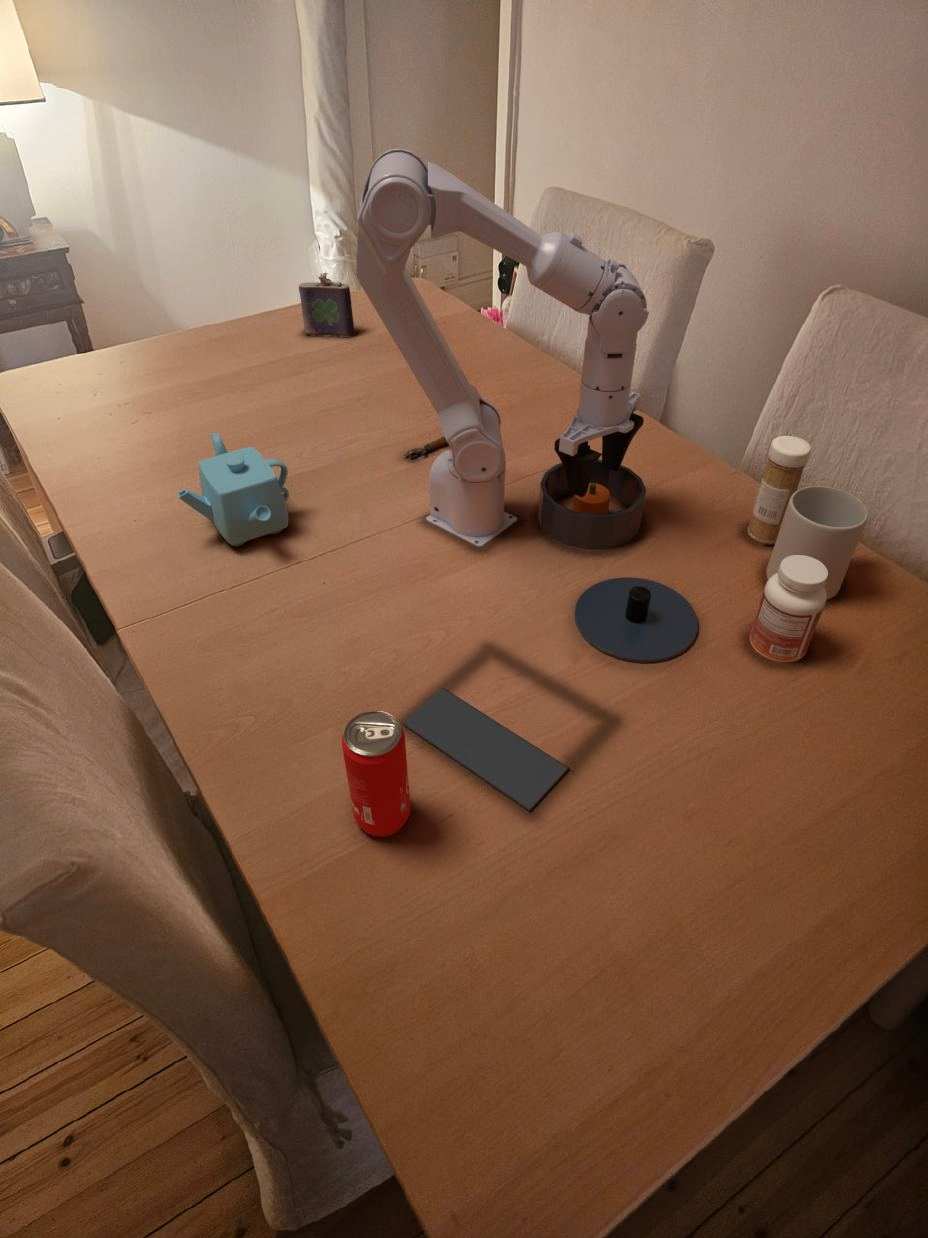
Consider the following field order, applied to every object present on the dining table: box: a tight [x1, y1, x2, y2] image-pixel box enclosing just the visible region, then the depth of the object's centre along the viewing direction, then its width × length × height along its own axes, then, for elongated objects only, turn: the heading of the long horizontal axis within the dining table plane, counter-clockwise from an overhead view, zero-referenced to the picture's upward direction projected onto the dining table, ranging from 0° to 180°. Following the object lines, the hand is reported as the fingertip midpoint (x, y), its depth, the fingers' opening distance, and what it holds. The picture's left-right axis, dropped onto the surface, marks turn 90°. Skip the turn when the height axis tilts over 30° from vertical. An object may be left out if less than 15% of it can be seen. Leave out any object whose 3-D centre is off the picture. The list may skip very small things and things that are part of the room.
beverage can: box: [341, 710, 411, 838], centre depth 71 cm, size 5×5×12 cm
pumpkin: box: [571, 483, 611, 515], centre depth 106 cm, size 5×5×5 cm
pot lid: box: [574, 576, 699, 664], centre depth 92 cm, size 14×14×5 cm
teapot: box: [175, 432, 290, 547], centre depth 104 cm, size 18×14×10 cm
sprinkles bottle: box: [746, 435, 812, 546], centre depth 101 cm, size 5×5×13 cm
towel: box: [402, 687, 570, 812], centre depth 83 cm, size 16×14×1 cm
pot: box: [537, 458, 647, 551], centre depth 106 cm, size 13×13×6 cm
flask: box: [298, 272, 355, 338], centre depth 147 cm, size 9×3×11 cm, turn 84°
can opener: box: [403, 435, 448, 459], centre depth 121 cm, size 9×2×1 cm, turn 123°
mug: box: [765, 485, 869, 601], centre depth 96 cm, size 12×8×11 cm
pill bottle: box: [749, 555, 828, 663], centre depth 87 cm, size 6×6×11 cm
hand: (594, 480), depth 104 cm, fingers open, 7 cm apart
